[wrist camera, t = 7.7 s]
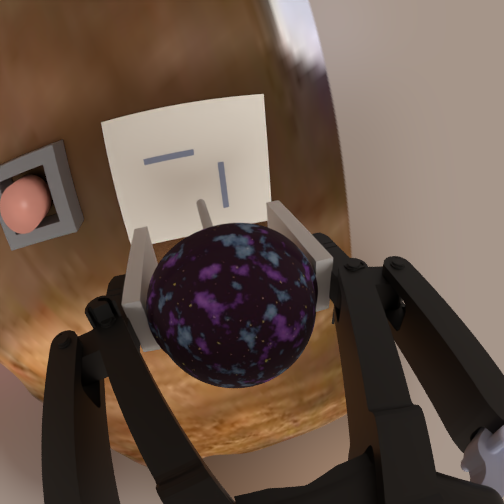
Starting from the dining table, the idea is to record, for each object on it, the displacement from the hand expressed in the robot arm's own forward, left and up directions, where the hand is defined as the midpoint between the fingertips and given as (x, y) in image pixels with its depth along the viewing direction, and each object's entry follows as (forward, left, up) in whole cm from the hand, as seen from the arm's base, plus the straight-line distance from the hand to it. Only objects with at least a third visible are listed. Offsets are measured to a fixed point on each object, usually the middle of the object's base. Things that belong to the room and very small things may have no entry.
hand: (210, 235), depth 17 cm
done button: (-2, -17, -13) cm, 21 cm away
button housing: (-2, -17, -15) cm, 22 cm away
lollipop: (0, 0, -6) cm, 6 cm away
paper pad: (0, 0, -15) cm, 15 cm away
